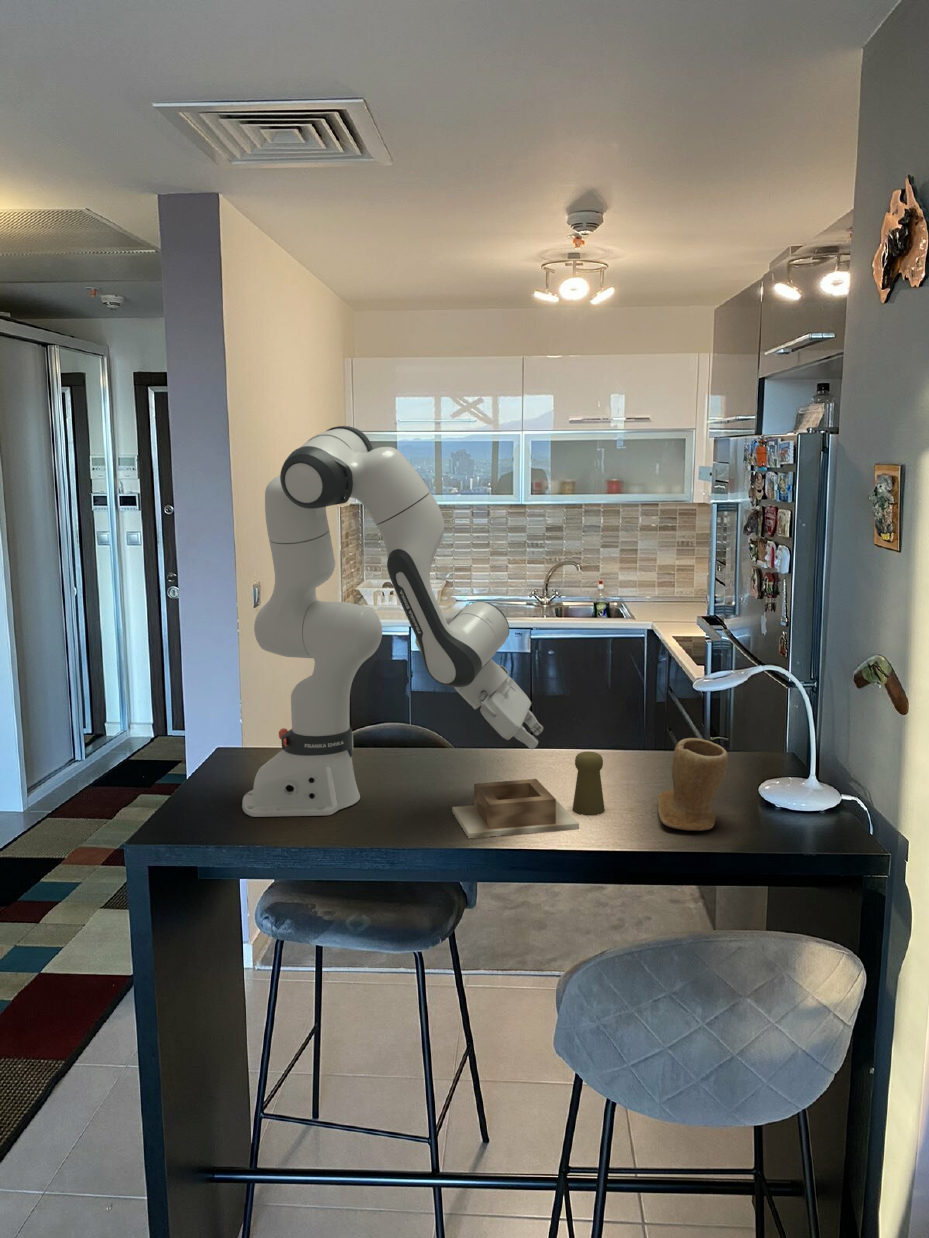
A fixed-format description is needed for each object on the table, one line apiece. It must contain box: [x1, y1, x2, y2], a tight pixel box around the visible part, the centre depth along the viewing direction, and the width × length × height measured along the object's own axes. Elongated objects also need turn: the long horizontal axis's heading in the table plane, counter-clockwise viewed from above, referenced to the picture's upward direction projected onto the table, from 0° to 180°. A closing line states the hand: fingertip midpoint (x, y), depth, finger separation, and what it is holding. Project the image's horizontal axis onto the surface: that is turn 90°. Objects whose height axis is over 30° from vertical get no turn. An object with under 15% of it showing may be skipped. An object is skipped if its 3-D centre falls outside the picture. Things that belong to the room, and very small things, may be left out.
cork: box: [572, 751, 606, 816], centre depth 180 cm, size 6×6×11 cm
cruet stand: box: [451, 778, 580, 839], centre depth 175 cm, size 20×14×6 cm
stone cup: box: [657, 737, 729, 831], centre depth 173 cm, size 15×12×15 cm
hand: (538, 739), depth 179 cm, fingers open, 8 cm apart
